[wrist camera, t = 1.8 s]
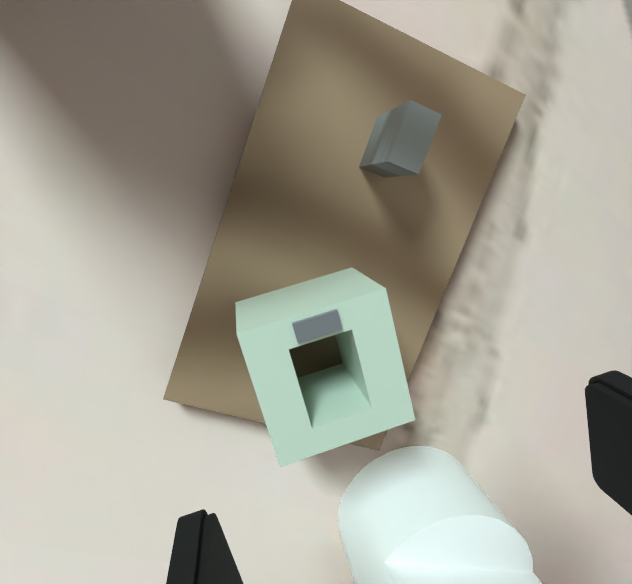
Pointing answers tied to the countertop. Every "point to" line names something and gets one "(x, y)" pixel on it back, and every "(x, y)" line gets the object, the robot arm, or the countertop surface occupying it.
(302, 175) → the base plate
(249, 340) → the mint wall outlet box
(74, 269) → the countertop surface
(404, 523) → the base with upright slab
